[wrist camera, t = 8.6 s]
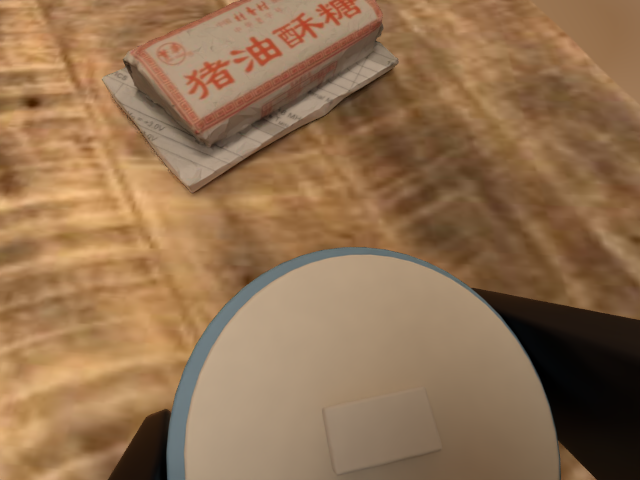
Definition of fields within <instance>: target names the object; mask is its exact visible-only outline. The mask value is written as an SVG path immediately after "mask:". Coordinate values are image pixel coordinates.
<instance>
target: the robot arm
mask: <svg viewBox="0 0 640 480" xmlns="http://www.w3.org/2000/svg"><path fill="white" fill-rule="evenodd" d="M471 289H472V290H473V291H475V292H476V293H477V294H478V295H480V296H481V297H482V298H483V299H484V300H485V301H486V302H487V303H488V304H489V305H490V306H491V307H492V308H493V309H494V310H495V311H496V312H497V313H498V314H499V315H500V316H501V317H502V319H503V320H504V321H505V322H506V324H507V325H508V326H509V327H510V329H511V330H512V331H513V333H514V334H515V335H516V337H517V338H518V340H519V341H520V343H521V345H522V346H523V348H524V349H525V351H526V352H527V354H528V356H529V358H530V360H531V362H532V364H533V366H534V368H535V370H536V372H537V374H538V376H539V378H540V380H541V383H542V385H543V388H544V391H545V393H546V396H547V399H548V402H549V404H550V408H551V412H552V416H553V420H554V424H555V428H556V432H557V440H558V441H559V442H560V443H561V444H562V445H563V446H564V447H565V448H566V449H567V450H568V451H569V452H570V453H571V454H572V455H573V456H574V457H575V458H576V459H577V460H578V461H579V462H580V463H581V464H582V465H583V466H584V467H585V468H586V469H587V470H588V471H589V472H590V473H591V474H592V475H593V476H594V477H595V478H596V479H597V480H640V320H636V319H631V318H626V317H621V316H616V315H610V314H605V313H600V312H595V311H590V310H585V309H579V308H574V307H569V306H564V305H559V304H553V303H548V302H543V301H538V300H533V299H528V298H523V297H517V296H512V295H507V294H502V293H497V292H492V291H486V290H481V289H476V288H471ZM170 417H171V412H170V411H169V410H168V409H164V410H162V411H159V412H156V413H154V414H151V415H149V416H147V417H146V419H145V420H144V421H143V423H142V425H141V426H140V428H139V430H138V431H137V433H136V435H135V436H134V438H133V439H132V441H131V443H130V444H129V446H128V448H127V449H126V451H125V452H124V454H123V456H122V457H121V459H120V461H119V462H118V464H117V465H116V467H115V469H114V470H113V472H112V474H111V475H110V477H109V479H108V480H167V460H166V451H167V440H168V430H169V421H170Z"/></svg>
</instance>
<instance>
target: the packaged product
mask: <svg viewBox="0 0 640 480" xmlns="http://www.w3.org/2000/svg"><path fill="white" fill-rule="evenodd" d="M382 18H383V13H382V11H381V9H380V7H379V6H378V5H377V2H376V0H240V1H237V2H233V3H231V4H229V5H227V6H226V7H224V8H222V9H219V10H217V11H215V12H213V13H211V14H208V15H206V16H205V17H203V18H202V19H199V20H197V21H194V22H191V23H189V24H187V25H185V26H183V27H181V28H178V29H176V30H174V31H171V32H169V33H168V34H166V35H164V36H162V37H158V38H156V39H153V40H151V41H149V42H147V43H145V44H143V45H140V46H137V47H136V48H135V49H134V50H131V51H129V52H128V53H127V54H126V56H125V57H124V59H123V61H124V64H125V66H126V67H125V68H123V69H121V70H119V71H116V72H114V73H112V74H109V75H106V76H104V77H103V78H102V81H103V82H104V84H105V85H106V87H107V89H108V90H109V92H110V93H111V95H112V96H113V98H114V100H115V101H116V102H117V104H118V105H119V106H120V107H121V108H122V109H123V110H124V112H125V113H126V114H127V115H128V116H129V117H130V118H131V120H132V121H133V122H134V123H135V124H136V125H137V127H138V128H139V129H140V131H141V132H142V134H143V135H144V137H145V138H146V140H147V141H148V142H149V144H150V145H151V146H152V147H153V149H154V150H155V151H156V153H157V154H158V155H159V157H160V158H161V159H162V161H163V162H164V163H165V165H166V166H167V167H168V168H169V169H170V171H171V172H172V173H173V174H174V175H175V176H176V177H177V178H178V179H179V180H180V181H181V182H182V183H183V184H184V185H185V186H186V187H187V188H188V189H189V190H190V192H191V193H193V192H195V191H196V190H198V189H199V188H201V187H202V186H204V185H205V184H207V183H208V182H210V181H211V180H213V179H215V178H216V177H218V176H219V175H221V174H222V173H224V172H225V171H227V170H228V169H230V168H231V167H233V166H234V165H236V164H237V163H239V162H240V161H242V160H243V159H245V158H247V157H248V156H250V155H252V154H253V153H255V152H256V151H258V150H260V149H262V148H263V147H265V146H267V145H269V144H270V143H272V142H274V141H276V140H278V139H279V138H281V137H283V136H285V135H286V134H288V133H290V132H292V131H293V130H295V129H297V128H299V127H300V126H302V125H304V124H307V123H309V122H311V121H313V120H315V119H318V118H320V117H322V116H324V115H326V114H327V113H328V112H329V111H330V110H331V109H333V108H334V107H335V106H336V105H337V104H338V103H339V102H340V101H342V100H343V99H344V98H345V97H347V96H348V95H350V94H352V93H353V92H355V91H357V90H358V89H360V88H362V87H363V86H365V85H367V84H368V83H370V82H371V81H373V80H375V79H376V78H378V77H380V76H381V75H383V74H384V73H386V72H388V71H389V70H391V69H392V68H394V67H395V66H396V65H397V64H398V58H396V57H395V56H394V55H393V54H392V53H390V52H389V51H388V50H387V49H386V48H385V47H384V46H383V45H382V44H381V43H380V42H377V41H376V38H377V37H379V36H381V32H382V30H383V24H382Z"/></svg>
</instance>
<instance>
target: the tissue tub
mask: <svg viewBox="0 0 640 480" xmlns="http://www.w3.org/2000/svg"><path fill="white" fill-rule="evenodd" d="M166 460H167V480H561V471H560V454H559V447H558V440H557V432H556V428H555V424H554V420H553V416H552V412H551V408H550V404H549V402H548V399H547V396H546V393H545V391H544V388H543V385H542V383H541V380H540V378H539V376H538V374H537V372H536V370H535V368H534V366H533V364H532V362H531V360H530V358H529V356H528V354H527V352H526V351H525V349H524V348H523V346H522V345H521V343H520V341H519V340H518V338H517V337H516V335H515V334H514V333H513V331H512V330H511V329H510V327H509V326H508V325H507V324H506V322H505V321H504V320H503V319H502V317H501V316H500V315H499V314H498V313H497V312H496V311H495V310H494V309H493V308H492V307H491V306H490V305H489V304H488V303H487V302H486V301H485V300H484V299H483V298H482V297H481V296H480V295H478V294H477V293H476V292H475V291H473V290H472V289H471V288H470V287H469V286H467V285H466V284H465V283H463V282H462V281H460V280H458V279H457V278H455V277H454V276H452V275H451V274H449V273H448V272H446V271H444V270H442V269H440V268H438V267H436V266H434V265H432V264H430V263H428V262H426V261H423V260H420V259H417V258H415V257H412V256H409V255H406V254H402V253H398V252H394V251H389V250H384V249H376V248H367V247H343V248H335V249H328V250H321V251H317V252H313V253H310V254H306V255H302V256H299V257H297V258H294V259H292V260H289V261H287V262H284V263H282V264H280V265H278V266H276V267H274V268H272V269H271V270H269V271H267V272H265V273H263V274H262V275H260V276H259V277H257V278H256V279H255V280H253V281H252V282H251V283H249V284H248V285H247V286H245V287H244V288H242V289H241V290H240V291H239V292H238V293H237V294H236V295H235V296H234V297H233V298H232V299H231V300H230V301H229V302H228V303H227V304H225V306H224V307H223V308H222V309H221V310H220V312H219V313H218V314H217V315H216V316H215V318H214V319H213V320H212V321H211V322H210V324H209V325H208V327H207V328H206V330H205V332H204V333H203V335H202V336H201V338H200V339H199V341H198V342H197V344H196V346H195V348H194V350H193V352H192V354H191V356H190V358H189V360H188V362H187V364H186V366H185V368H184V371H183V374H182V377H181V380H180V383H179V385H178V388H177V391H176V394H175V398H174V403H173V408H172V412H171V417H170V421H169V430H168V440H167V451H166Z"/></svg>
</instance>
